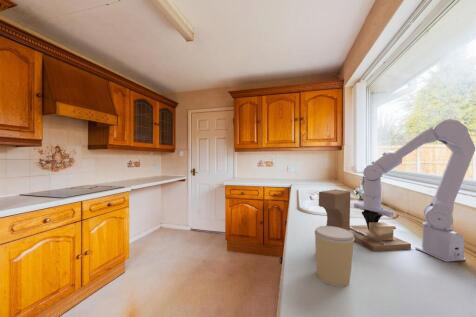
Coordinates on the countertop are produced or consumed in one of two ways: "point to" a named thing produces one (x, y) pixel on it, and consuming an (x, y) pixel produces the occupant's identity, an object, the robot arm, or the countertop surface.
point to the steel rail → (368, 236)
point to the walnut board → (375, 246)
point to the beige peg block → (381, 230)
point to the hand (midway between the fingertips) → (371, 230)
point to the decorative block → (336, 207)
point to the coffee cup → (334, 255)
